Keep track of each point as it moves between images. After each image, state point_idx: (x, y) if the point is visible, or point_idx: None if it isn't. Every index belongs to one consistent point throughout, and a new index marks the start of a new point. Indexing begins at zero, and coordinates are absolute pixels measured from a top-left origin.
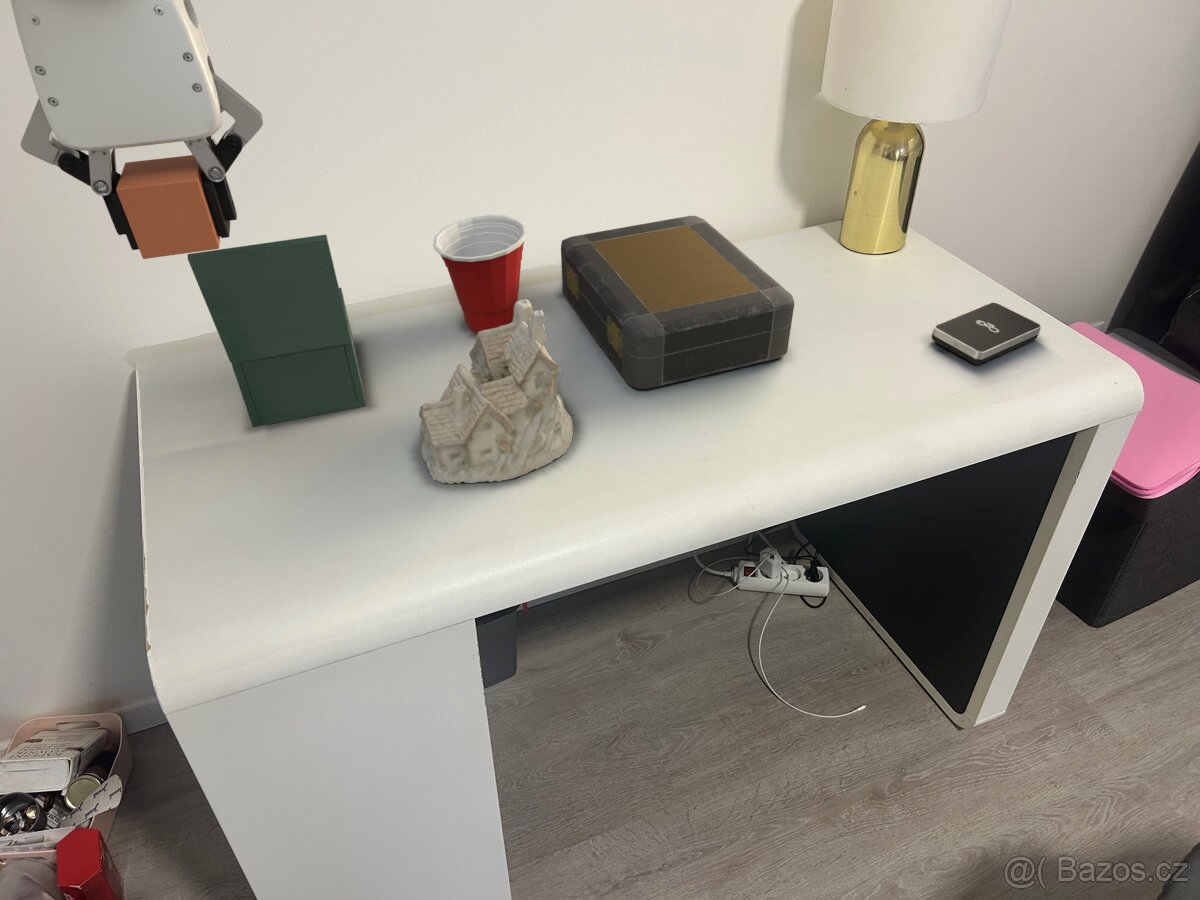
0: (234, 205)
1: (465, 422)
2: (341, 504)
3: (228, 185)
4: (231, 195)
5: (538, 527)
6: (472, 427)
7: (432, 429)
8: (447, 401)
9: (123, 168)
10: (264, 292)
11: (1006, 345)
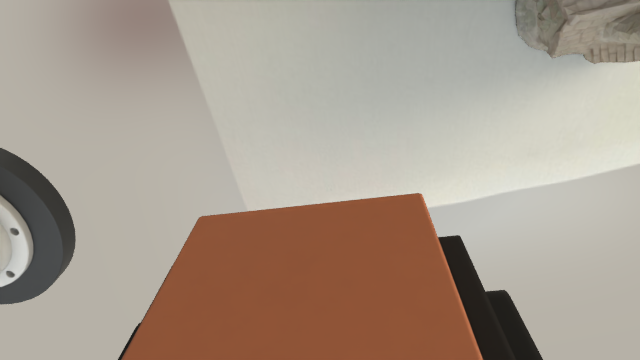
0: (510, 299)
1: (615, 43)
2: (402, 60)
3: (541, 357)
4: (525, 328)
5: (611, 137)
6: (621, 61)
7: (563, 44)
8: (611, 14)
9: None
10: None
11: None
